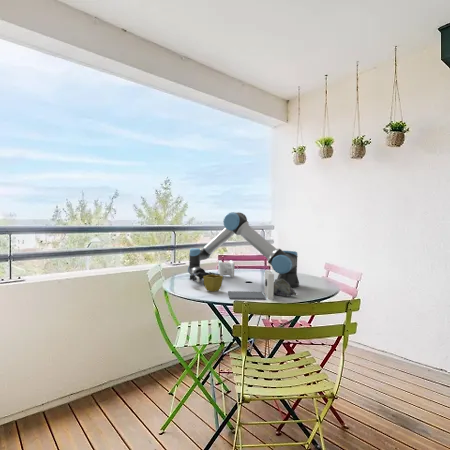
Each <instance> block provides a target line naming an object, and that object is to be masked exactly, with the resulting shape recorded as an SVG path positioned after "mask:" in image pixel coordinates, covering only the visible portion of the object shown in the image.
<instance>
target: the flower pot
mask: <svg viewBox="0 0 450 450" xmlns="http://www.w3.org/2000/svg"><path fill="white" fill-rule="evenodd" d="M223 279H224V275H223V276H219V275H213V274H212V275H206V276H203V285H204V288H205V290H206V291H208V292H212V293H214V292H218V291H220V289H221V287H222V284H223Z"/></svg>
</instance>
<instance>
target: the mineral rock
mask: <svg viewBox="0 0 450 450" xmlns="http://www.w3.org/2000/svg"><path fill="white" fill-rule="evenodd" d="M273 296H282V297H283V296H284V297H291V296H297V292H295V289H294V288H293V287H290V284H289V283H288V282H287V281H285V280H284V279H279V280H277V278H276V279H275V278H274V293H273Z"/></svg>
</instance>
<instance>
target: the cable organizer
mask: <svg viewBox="0 0 450 450" xmlns="http://www.w3.org/2000/svg"><path fill="white" fill-rule="evenodd" d="M217 264H218V265H217V267H218V270H217V271H218V274H220V276H223V277H224V276H229V277H230V278H231V279H234V278H235V261H234V260H232V259H231V260H229V261H228V262H223V261H222V260H219V261H218V262H217Z"/></svg>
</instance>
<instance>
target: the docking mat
mask: <svg viewBox="0 0 450 450" xmlns="http://www.w3.org/2000/svg"><path fill="white" fill-rule="evenodd" d="M227 293H228V299H229V300H262V301H263V300H266V299H267V297H266V295H265V294H264V293H263V291H244V290H243V291H237V290H232V291H231V290H228V291H227Z"/></svg>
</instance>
